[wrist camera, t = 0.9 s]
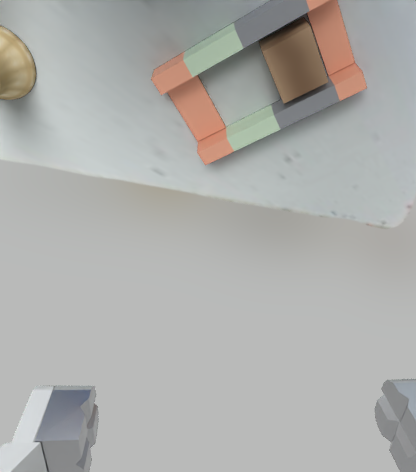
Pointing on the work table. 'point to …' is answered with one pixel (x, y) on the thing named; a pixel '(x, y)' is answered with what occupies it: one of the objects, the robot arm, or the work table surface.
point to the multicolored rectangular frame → (277, 114)
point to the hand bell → (15, 67)
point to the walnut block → (294, 60)
